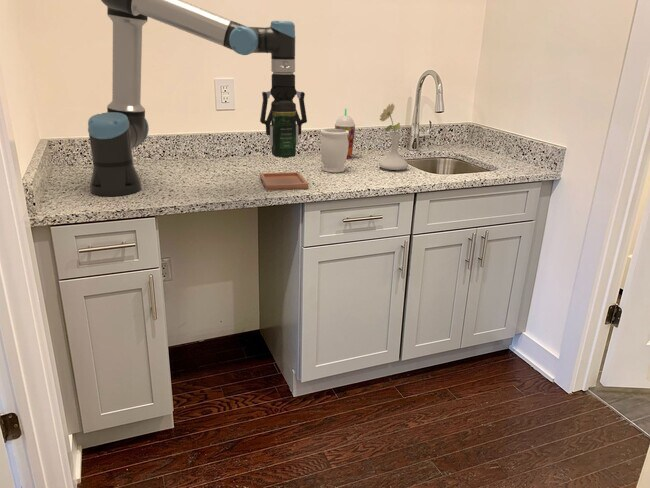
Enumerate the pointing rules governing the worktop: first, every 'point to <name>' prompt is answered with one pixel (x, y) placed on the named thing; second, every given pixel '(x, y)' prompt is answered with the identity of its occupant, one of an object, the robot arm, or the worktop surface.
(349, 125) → the smoothie
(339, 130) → the jar
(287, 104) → the coffee jar
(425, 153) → the worktop surface
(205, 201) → the worktop surface
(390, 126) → the flower in vase
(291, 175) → the tray
